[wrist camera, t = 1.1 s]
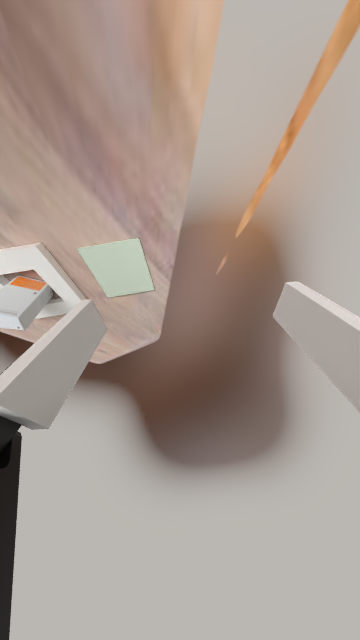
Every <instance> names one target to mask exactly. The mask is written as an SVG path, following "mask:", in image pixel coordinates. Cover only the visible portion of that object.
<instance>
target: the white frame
mask: <svg viewBox="0 0 360 640" xmlns="http://www.w3.org/2000/svg"><path fill="white" fill-rule="evenodd" d="M33 269H34V270H35V271H36V272H37V273H38V274H39V275H40V276H41V277H42V279H43V280H44V281H45V282H46V283H47V284H48V285H49V286H50V287H51V288H52V289H53V290H54V291H55V292H56V293H57V294H58V295H59V296H60V297H61V298H57V299H51V300H49V301H48V302H47V304H46V305H45V306H44V307H43V309H42V310H41V311H40V312H39V314H38V315H37V316H36V317H35V319H38V318H44V317H50V316H56V315H62V314H67V313H68V312H69V311H70V310H71V309H72V308H74V307H75V306H76V305H77V304H78V303H79V302H80V301H81V300H87V299H86V298H85V297H84V295H83V294H82V293H81V292H80V290H79V289H78V288H77V287H76V285H75V284H74V283H73V281H72V280H71V279H70V278H69V276H68V275H67V274H66V273H65V271H64V270H63V269H62V268H61V266H60V265H59V264H58V263H57V261H56V260H55V259H54V258H53V256H52V255H51V254H50V253H49V251H48V250H47V249H46V248H45V246H44V245H43V244H42V243H35V244H29V245H23V246H17V247H11V248H5V249H0V289H1V288H3V287H4V286H5V285H6V284H8V283H9V282H10V281H9V280H8V279H7V278H5V277H4V276H3V274H9V273H15V272H21V271H27V270H33Z"/></svg>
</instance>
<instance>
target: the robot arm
mask: <svg viewBox="0 0 360 640" xmlns="http://www.w3.org/2000/svg"><path fill="white" fill-rule="evenodd" d="M273 317H274V319H276V321H277V322H278V323H279V324H280V325H281V326H282V327H283V328H284V329H285V331H286V332H287V333H288V334H289V335H290V336H291V337H292V338H293V339H294V341H295V342H296V343H297V344H298V345H299V346H300V347H301V348H302V349H303V350H304V351H305V353H306V354H307V355H308V356H309V357H310V358H311V359H312V360H313V362H314V363H315V364H316V365H317V366H318V367H319V368H320V369H321V370H322V371H323V373H324V374H325V375H326V376H327V377H328V378H329V379H330V380H331V381H332V382H333V383H334V385H335V386H336V387H337V388H338V389H339V390H340V391H341V392H342V393H343V395H344V396H345V397H346V398H347V399H348V400H349V401H350V402H351V403H352V404H353V406H354V407H355V408H356V409H357V410H358V411H359V412H360V317H358V316H356V315H354V314H353V313H351V312H349V311H347V310H346V309H344V308H343V307H341V306H339V305H337V304H336V303H334V302H332V301H330V300H329V299H327V298H325V297H324V296H322V295H320V294H318V293H317V292H315V291H313V290H312V289H309V288H308V287H306V286H305V285H303V284H301V283H300V282H287V283H285V286H284V288H283V291H282V293H281V296H280V298H279V301H278V303H277V307H276V309H275V311H274V314H273ZM107 330H108V328H107V327H106V325H105V323H104V321H103V319H102V317H101V316H100V314H99V312H98V310H97V308H96V306H95V304H94V303H93V301H92V300H81V301H80V302H79V303H78V304H77V305H76V306H75V307H74V308H72V309H71V310H70V311H69V312H68V313H67V314H66V315H65V316H64V317H63V318H62V319H61V320H59V321H58V322H57V323H56V324H55V325H54V326H53V327H52V328H51V329H50V330H49V331H48V332H46V333H45V334H44V335H43V336H42V337H41V338H40V339H39V340H38V341H37V342H36V343H35V344H33V345H32V346H31V347H30V348H29V349H28V350H27V351H26V352H24V353H23V354H22V355H21V356H20V357H19V358H18V359H17V360H16V361H14V363H13V364H11V365H10V366H9V367H8V368H7V369H6V370H5V371H4V372H2V373H1V374H0V640H9V632H10V616H11V599H12V584H13V567H14V551H15V535H16V519H17V503H18V488H19V486H18V485H19V472H20V456H21V455H20V454H21V440H22V437H21V433H20V432H18V429H19V428H20V426H21V425H23V426H25V427H28V428H30V429H49V427H50V426H51V424H52V422H53V421H54V419H55V417H56V416H57V414H58V412H59V410H60V409H61V407H62V405H63V404H64V402H65V400H66V399H67V397H68V395H69V394H70V392H71V390H72V388H73V387H74V385H75V383H76V382H77V380H78V378H79V377H80V375H81V373H82V372H83V370H84V368H85V367H86V365H87V363H88V362H89V360H90V358H91V357H92V355H93V353H94V352H95V350H96V348H97V346H98V345H99V343H100V341H101V340H102V338H103V336H104V335H105V333H106V331H107Z"/></svg>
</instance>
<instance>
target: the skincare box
mask: <svg viewBox="0 0 360 640" xmlns="http://www.w3.org/2000/svg"><path fill="white" fill-rule="evenodd" d="M52 296H53V293H52V288H51V287H50V286H49V285H48V284H47V283H46V282H44V281H40V280H36V279H32V278H28V277H24V276H21V275H18V276H17V277H15V278H14V279H13V280H12V281H10V282H9V283H8V284H6V285H5V286H4V287H3V288H1V289H0V328H6V329H17V330H26V329H27V328H28V326H29V325H30V324H31V322H32V321H33V320H34V319H35V317H36V316H37V315H38V314H39V312H40V311H41V310H42V309H43V307H44V306H45V305H46V304H47V302H48V301H49V300H50V299H51V297H52Z"/></svg>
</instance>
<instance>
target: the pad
mask: <svg viewBox="0 0 360 640" xmlns="http://www.w3.org/2000/svg"><path fill="white" fill-rule="evenodd" d="M77 250H78V252H79V253H80V255H81V256H82V258H83V260H84V261H85V263H86V264H87V266H88V267H89V269H90V270H91V272H92V274H93V275H94V277H95V278H96V280H97V281H98V283H99V285H100V286H101V288H102V289H103V291H104V292H105V294H106V295H107V297H108V298H109V297H115V296H121V295H127V294H133V293H139V292H145V291H151V290H154V285H153V282H152V279H151V275H150V272H149V269H148V265H147V262H146V259H145V255H144V252H143V249H142V245H141V242H140V239H139V238H134V239H128V240H122V241H116V242H110V243H104V244H98V245H92V246H86V247H80V248H77Z"/></svg>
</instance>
